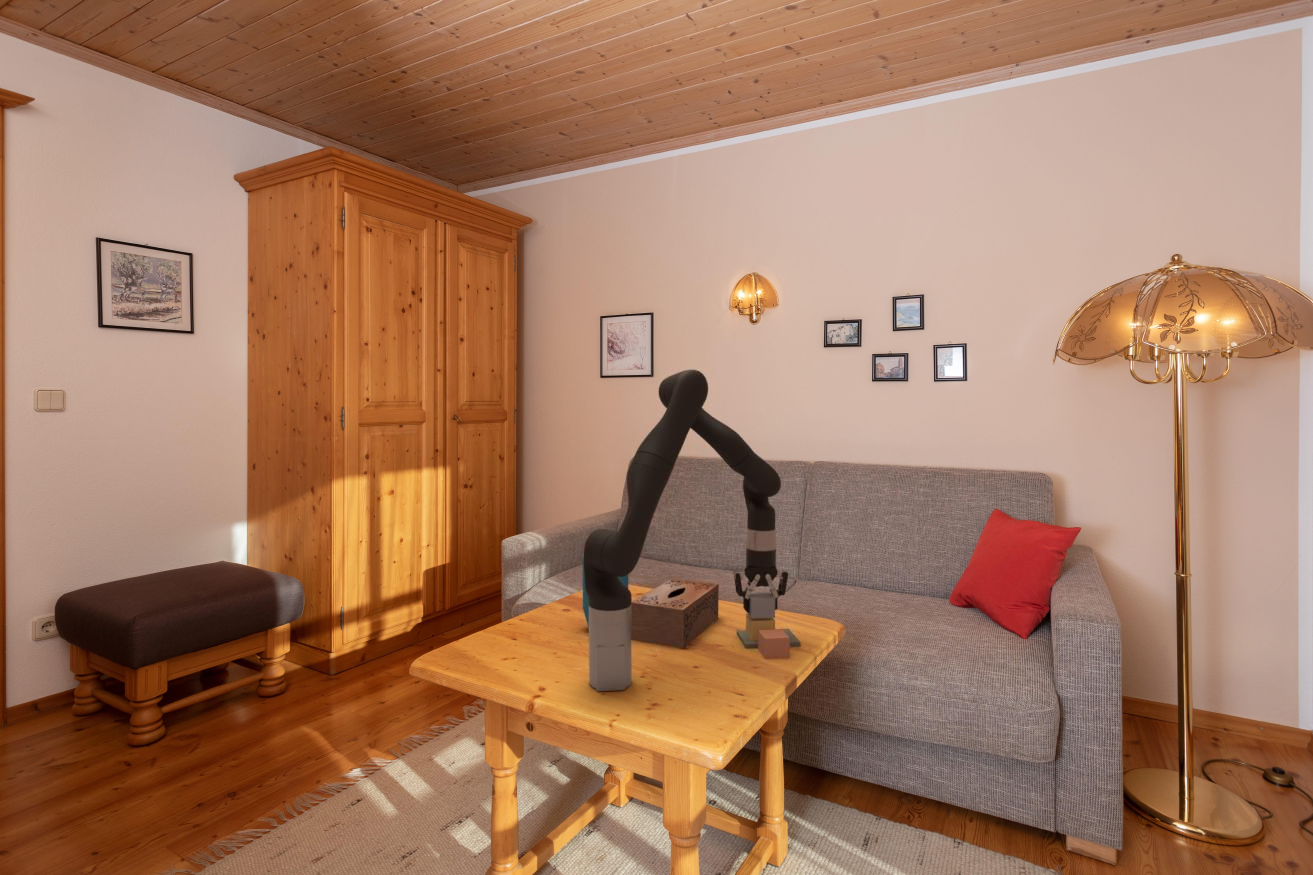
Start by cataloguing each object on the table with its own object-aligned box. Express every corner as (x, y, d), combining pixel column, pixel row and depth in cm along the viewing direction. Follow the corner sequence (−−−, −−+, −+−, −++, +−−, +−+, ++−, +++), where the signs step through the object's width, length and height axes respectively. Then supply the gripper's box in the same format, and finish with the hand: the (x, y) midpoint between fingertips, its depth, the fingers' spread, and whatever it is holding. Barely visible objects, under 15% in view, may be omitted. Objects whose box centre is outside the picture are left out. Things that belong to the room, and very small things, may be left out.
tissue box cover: (671, 612, 198) (671, 578, 197) (718, 619, 192) (718, 584, 191) (630, 640, 174) (630, 602, 174) (682, 649, 168) (682, 609, 168)
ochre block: (774, 640, 171) (775, 620, 171) (751, 640, 171) (751, 621, 170) (768, 631, 177) (768, 612, 177) (745, 632, 177) (746, 613, 176)
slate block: (774, 617, 171) (775, 598, 171) (751, 618, 170) (751, 598, 170) (768, 610, 177) (768, 591, 177) (746, 610, 176) (746, 591, 176)
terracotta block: (789, 658, 163) (789, 637, 162) (764, 659, 162) (765, 638, 161) (781, 648, 168) (781, 629, 168) (757, 649, 168) (758, 630, 167)
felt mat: (800, 645, 170) (800, 641, 170) (745, 648, 169) (745, 644, 169) (788, 632, 180) (788, 628, 180) (736, 634, 179) (736, 630, 178)
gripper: (736, 550, 168) (735, 617, 169) (793, 548, 170) (792, 615, 171) (730, 543, 176) (729, 607, 177) (784, 542, 177) (783, 606, 178)
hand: (760, 611), depth 174 cm, fingers closed on slate block, 6 cm apart
